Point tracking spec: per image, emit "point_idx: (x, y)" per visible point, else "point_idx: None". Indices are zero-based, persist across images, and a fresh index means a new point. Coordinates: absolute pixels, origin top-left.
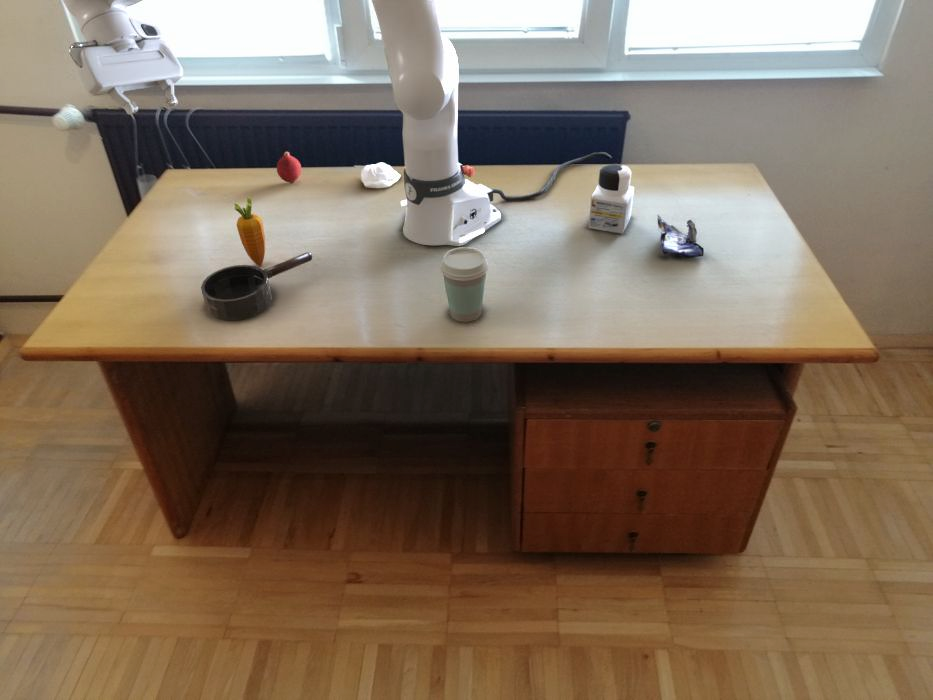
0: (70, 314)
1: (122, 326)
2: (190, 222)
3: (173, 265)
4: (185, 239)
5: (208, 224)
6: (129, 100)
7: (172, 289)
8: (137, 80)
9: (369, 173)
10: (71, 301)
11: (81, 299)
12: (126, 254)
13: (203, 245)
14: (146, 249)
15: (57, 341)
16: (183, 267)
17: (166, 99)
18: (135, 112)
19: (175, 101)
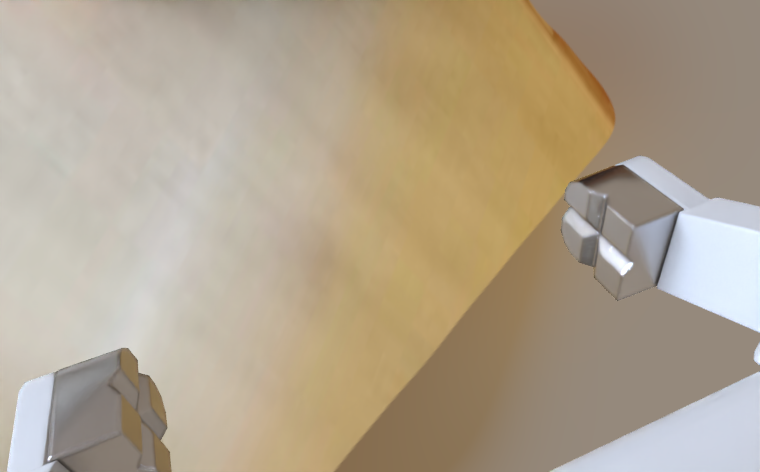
0: (542, 180)
1: (489, 49)
2: None
3: (302, 200)
4: (207, 316)
5: None
6: (693, 211)
7: (354, 93)
8: (672, 438)
9: None
10: (526, 228)
11: (511, 220)
12: (368, 349)
13: (182, 240)
14: (319, 339)
15: (583, 108)
16: (286, 169)
17: (149, 448)
18: (572, 212)
19: (63, 372)
